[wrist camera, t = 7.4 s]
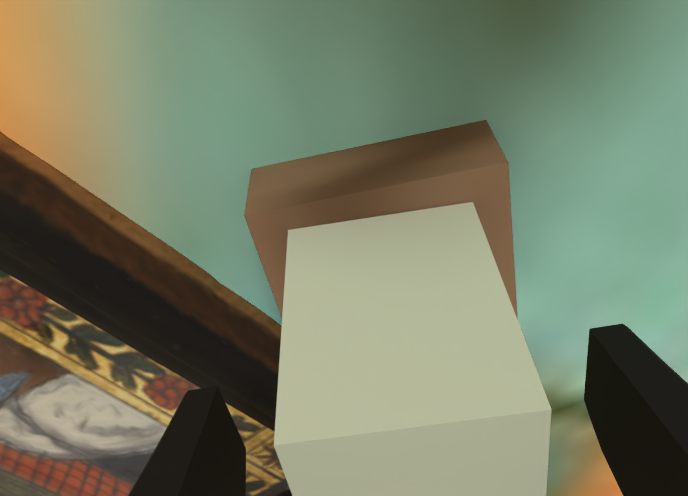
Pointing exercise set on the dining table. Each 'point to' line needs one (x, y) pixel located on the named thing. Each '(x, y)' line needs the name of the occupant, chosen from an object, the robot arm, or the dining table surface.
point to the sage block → (405, 364)
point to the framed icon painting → (113, 343)
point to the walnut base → (384, 191)
